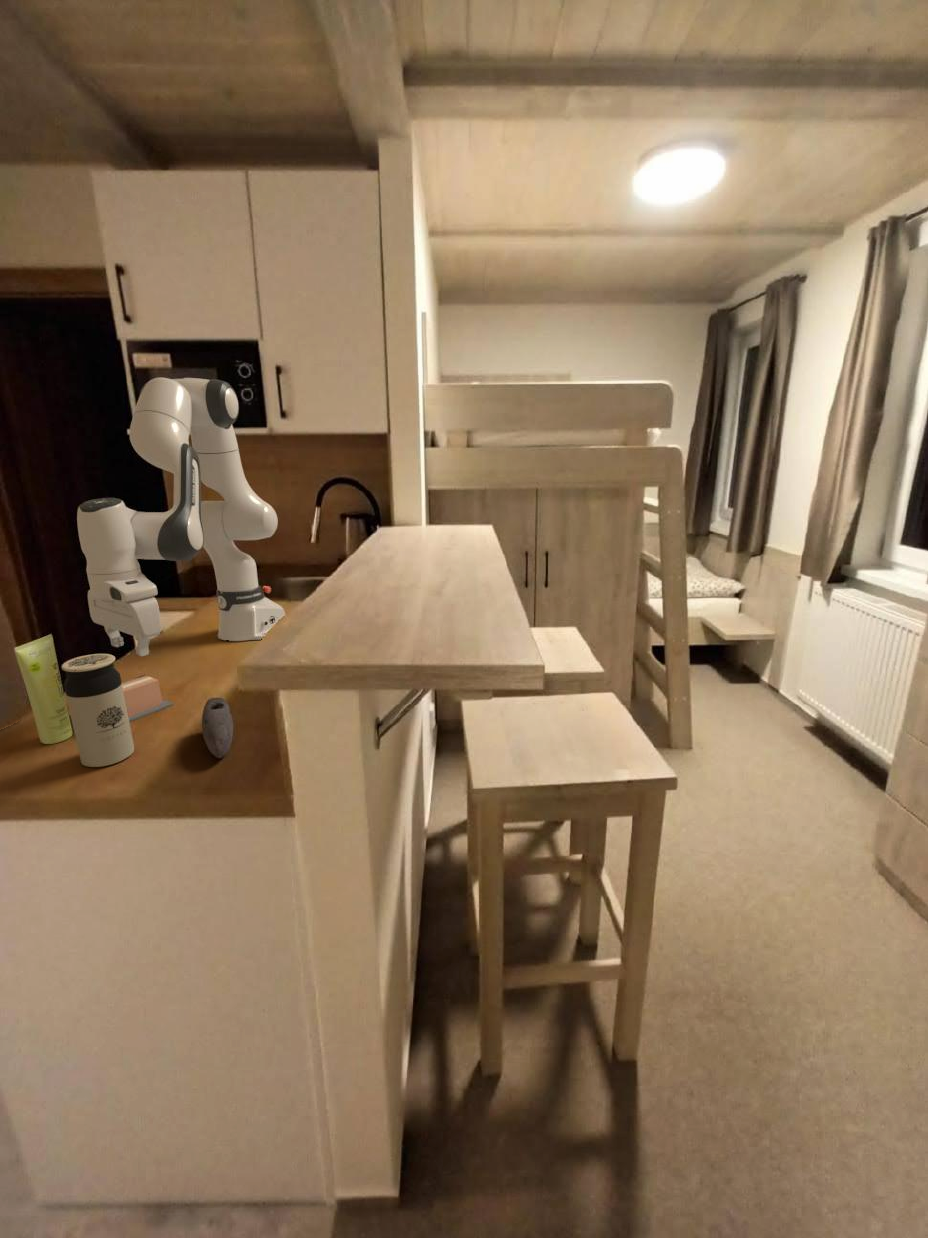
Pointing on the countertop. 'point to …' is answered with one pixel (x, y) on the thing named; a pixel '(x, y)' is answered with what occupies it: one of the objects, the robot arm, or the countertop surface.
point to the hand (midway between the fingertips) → (130, 650)
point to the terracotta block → (141, 695)
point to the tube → (45, 689)
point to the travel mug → (98, 710)
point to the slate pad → (151, 710)
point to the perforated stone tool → (217, 726)
